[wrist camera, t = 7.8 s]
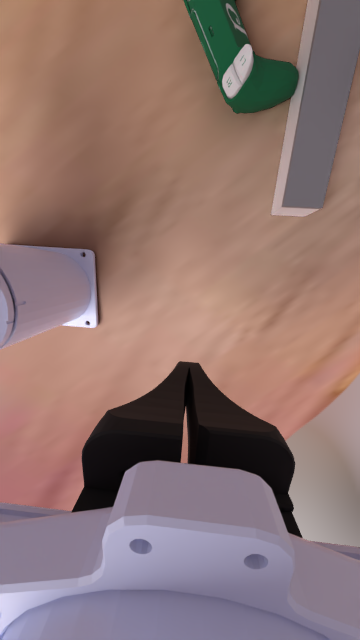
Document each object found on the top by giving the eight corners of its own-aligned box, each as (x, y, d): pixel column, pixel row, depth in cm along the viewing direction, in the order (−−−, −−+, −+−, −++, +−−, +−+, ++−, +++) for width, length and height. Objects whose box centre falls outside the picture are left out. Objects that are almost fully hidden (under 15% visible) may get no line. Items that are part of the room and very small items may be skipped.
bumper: (270, 214, 16) (283, 206, 14) (315, -45, 12) (342, -114, 10) (304, 216, 16) (322, 207, 14) (361, -45, 12) (398, -115, 10)
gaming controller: (213, 17, 15) (160, -20, 12) (254, -70, 12) (199, -155, 9) (259, 134, 17) (224, 130, 13) (305, 85, 14) (276, 64, 10)
